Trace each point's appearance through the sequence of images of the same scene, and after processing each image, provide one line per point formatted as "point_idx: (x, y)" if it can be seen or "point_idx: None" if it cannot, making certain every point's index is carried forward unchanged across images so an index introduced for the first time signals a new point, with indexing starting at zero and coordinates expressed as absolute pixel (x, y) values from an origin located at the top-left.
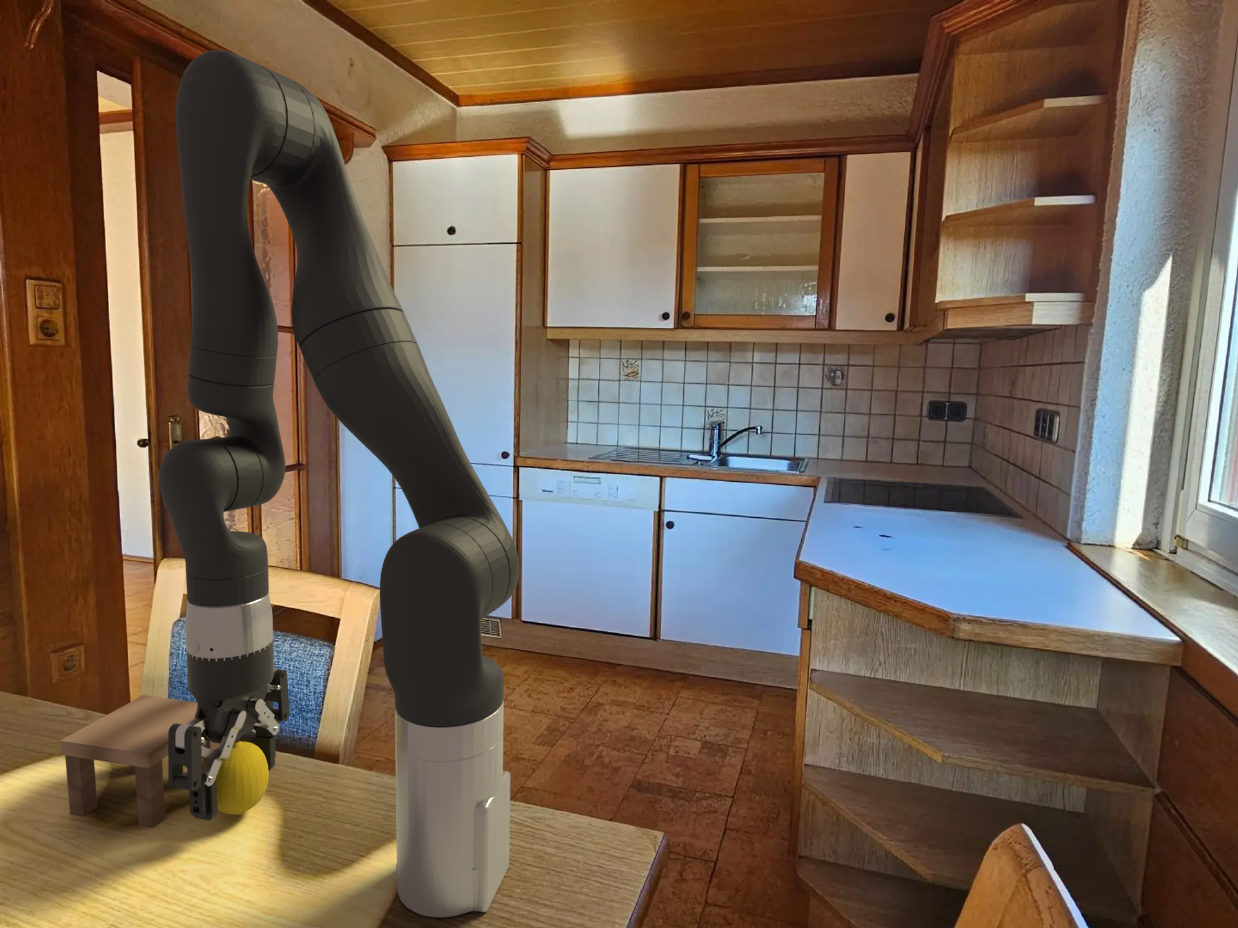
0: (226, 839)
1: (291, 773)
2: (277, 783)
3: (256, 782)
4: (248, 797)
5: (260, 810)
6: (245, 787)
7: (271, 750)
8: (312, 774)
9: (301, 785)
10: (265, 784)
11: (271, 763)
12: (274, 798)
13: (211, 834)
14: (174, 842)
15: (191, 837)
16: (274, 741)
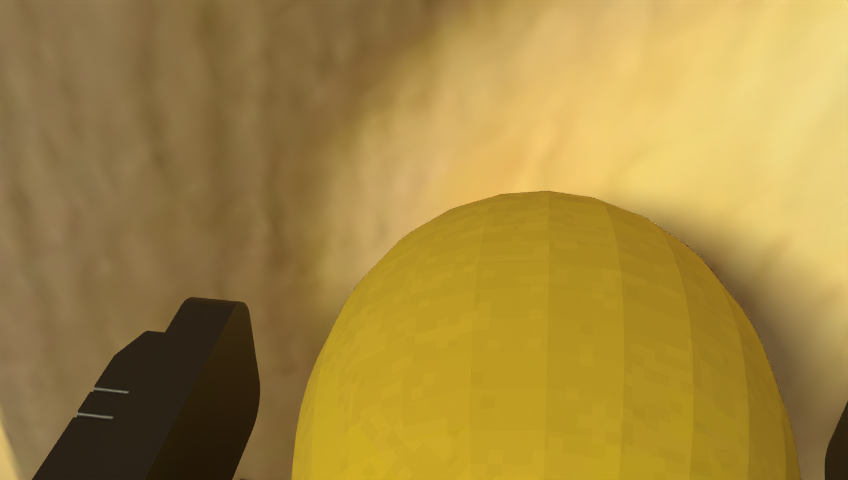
0: (802, 196)
1: (74, 184)
2: (196, 209)
3: (639, 304)
4: (696, 266)
5: (478, 160)
6: (738, 351)
7: (162, 417)
8: (11, 46)
9: (148, 50)
10: (514, 229)
11: (213, 329)
12: (338, 144)
13: (747, 297)
14: (818, 419)
15: (775, 371)
16: (59, 457)
